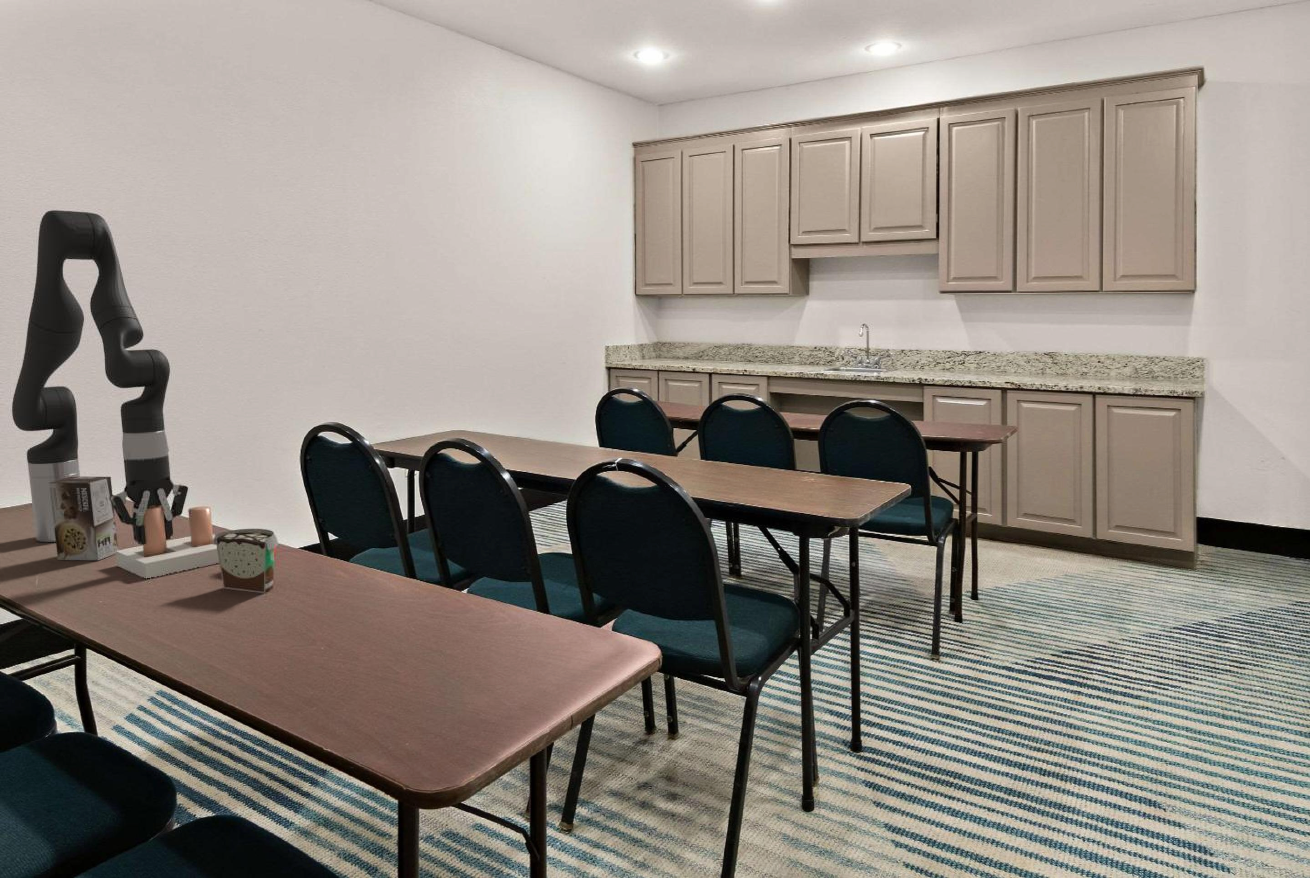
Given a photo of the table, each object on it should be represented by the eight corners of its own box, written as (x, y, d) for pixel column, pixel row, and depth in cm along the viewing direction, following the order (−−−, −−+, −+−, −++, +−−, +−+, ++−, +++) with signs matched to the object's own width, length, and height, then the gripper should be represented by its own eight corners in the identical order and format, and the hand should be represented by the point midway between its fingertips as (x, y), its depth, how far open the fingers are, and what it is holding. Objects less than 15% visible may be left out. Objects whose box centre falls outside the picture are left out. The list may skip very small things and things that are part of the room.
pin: (140, 557, 173) (135, 507, 172) (162, 553, 176) (157, 503, 175) (149, 561, 171) (144, 510, 169) (171, 556, 174) (166, 506, 172)
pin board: (117, 565, 175) (112, 516, 173) (210, 546, 189) (206, 500, 187) (146, 579, 166) (141, 526, 165) (241, 557, 180) (238, 509, 178)
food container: (296, 584, 163) (292, 530, 161) (271, 594, 157) (267, 539, 156) (242, 577, 167) (238, 525, 165) (217, 587, 161) (212, 533, 160)
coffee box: (120, 552, 184) (112, 476, 182) (98, 561, 178) (89, 482, 176) (79, 551, 185) (71, 475, 183) (55, 560, 179) (47, 481, 176)
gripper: (176, 447, 178) (183, 531, 181) (97, 457, 167) (106, 546, 170) (193, 451, 174) (200, 537, 176) (112, 461, 163) (121, 552, 165)
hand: (154, 541), depth 173 cm, fingers closed on pin, 4 cm apart
